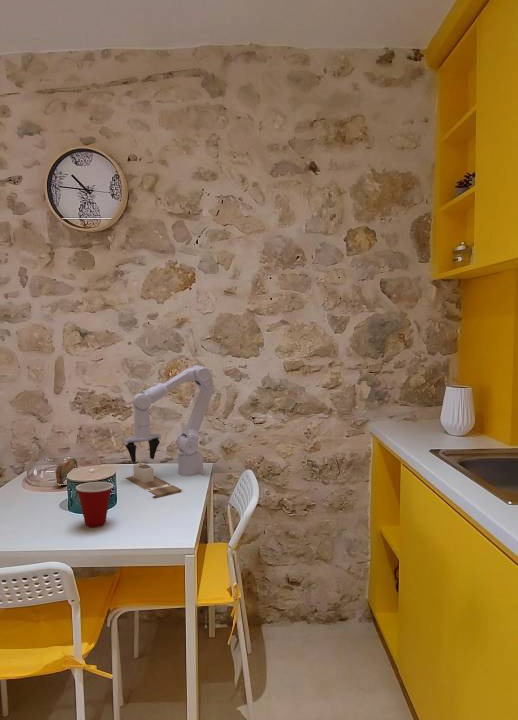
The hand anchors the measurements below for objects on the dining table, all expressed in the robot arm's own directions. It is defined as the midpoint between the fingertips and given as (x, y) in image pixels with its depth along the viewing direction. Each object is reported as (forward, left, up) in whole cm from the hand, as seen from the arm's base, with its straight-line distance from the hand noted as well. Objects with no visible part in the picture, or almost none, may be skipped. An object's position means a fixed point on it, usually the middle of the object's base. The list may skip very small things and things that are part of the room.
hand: (142, 460), depth 191 cm
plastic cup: (+29, +28, -9) cm, 41 cm away
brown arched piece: (+23, -18, -9) cm, 30 cm away
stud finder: (0, 0, -7) cm, 7 cm away
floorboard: (0, +7, -8) cm, 11 cm away
